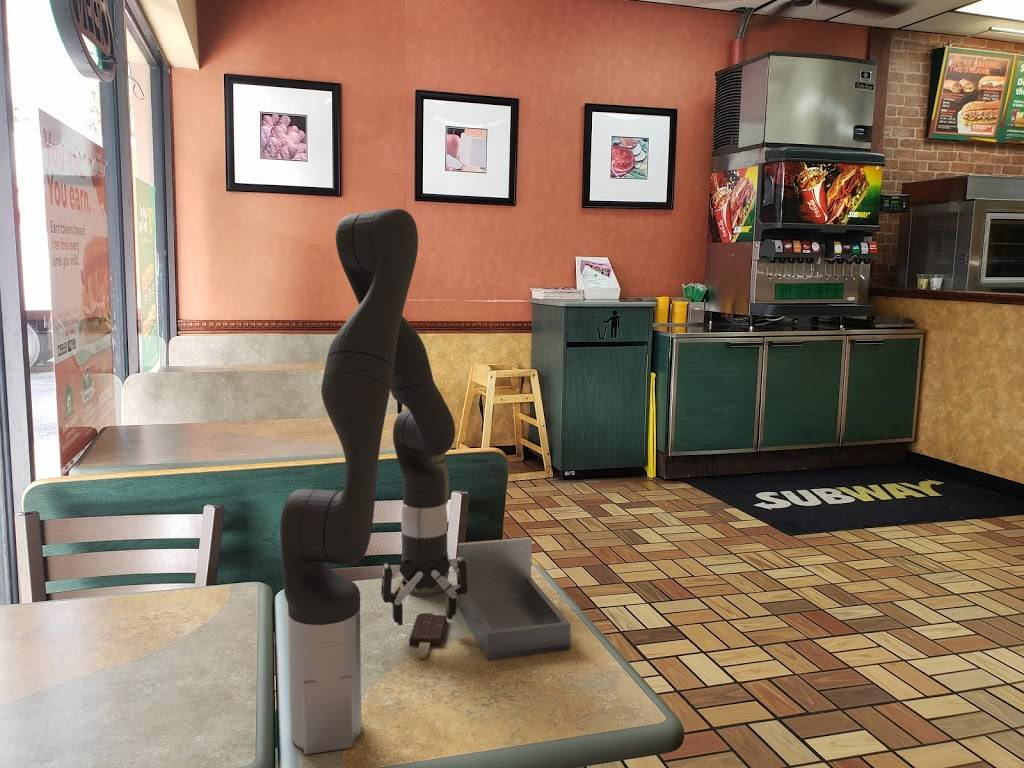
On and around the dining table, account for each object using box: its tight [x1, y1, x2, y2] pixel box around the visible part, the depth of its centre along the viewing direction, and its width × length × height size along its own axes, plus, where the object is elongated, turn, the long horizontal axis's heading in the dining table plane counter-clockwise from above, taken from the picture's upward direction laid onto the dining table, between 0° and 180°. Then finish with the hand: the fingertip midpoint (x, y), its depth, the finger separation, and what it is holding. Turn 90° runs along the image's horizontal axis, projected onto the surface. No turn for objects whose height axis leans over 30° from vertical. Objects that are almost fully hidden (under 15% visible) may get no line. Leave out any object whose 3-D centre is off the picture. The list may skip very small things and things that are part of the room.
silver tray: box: [456, 536, 572, 661], centre depth 141 cm, size 24×14×12 cm, turn 17°
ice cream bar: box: [408, 612, 448, 659], centre depth 135 cm, size 5×2×15 cm
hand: (424, 620), depth 136 cm, fingers open, 8 cm apart
